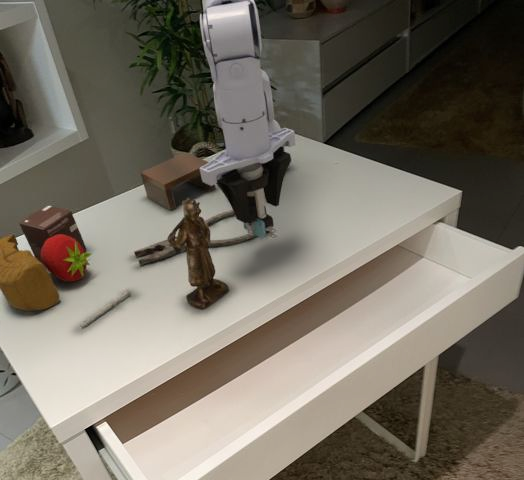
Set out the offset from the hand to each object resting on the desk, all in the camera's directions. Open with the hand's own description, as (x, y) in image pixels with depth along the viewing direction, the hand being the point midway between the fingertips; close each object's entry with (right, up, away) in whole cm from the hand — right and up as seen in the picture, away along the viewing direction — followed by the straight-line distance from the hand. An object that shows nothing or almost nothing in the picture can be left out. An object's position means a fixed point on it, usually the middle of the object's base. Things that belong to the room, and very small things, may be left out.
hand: (257, 212), depth 79 cm
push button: (0, -3, +2) cm, 4 cm away
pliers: (-9, -3, +10) cm, 14 cm away
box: (-32, -4, +13) cm, 35 cm away
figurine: (-7, -12, 0) cm, 14 cm away
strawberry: (-34, -5, +8) cm, 35 cm away
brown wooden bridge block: (-14, +9, +24) cm, 30 cm away
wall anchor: (-22, -13, 0) cm, 26 cm away
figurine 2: (-41, -4, +10) cm, 42 cm away
